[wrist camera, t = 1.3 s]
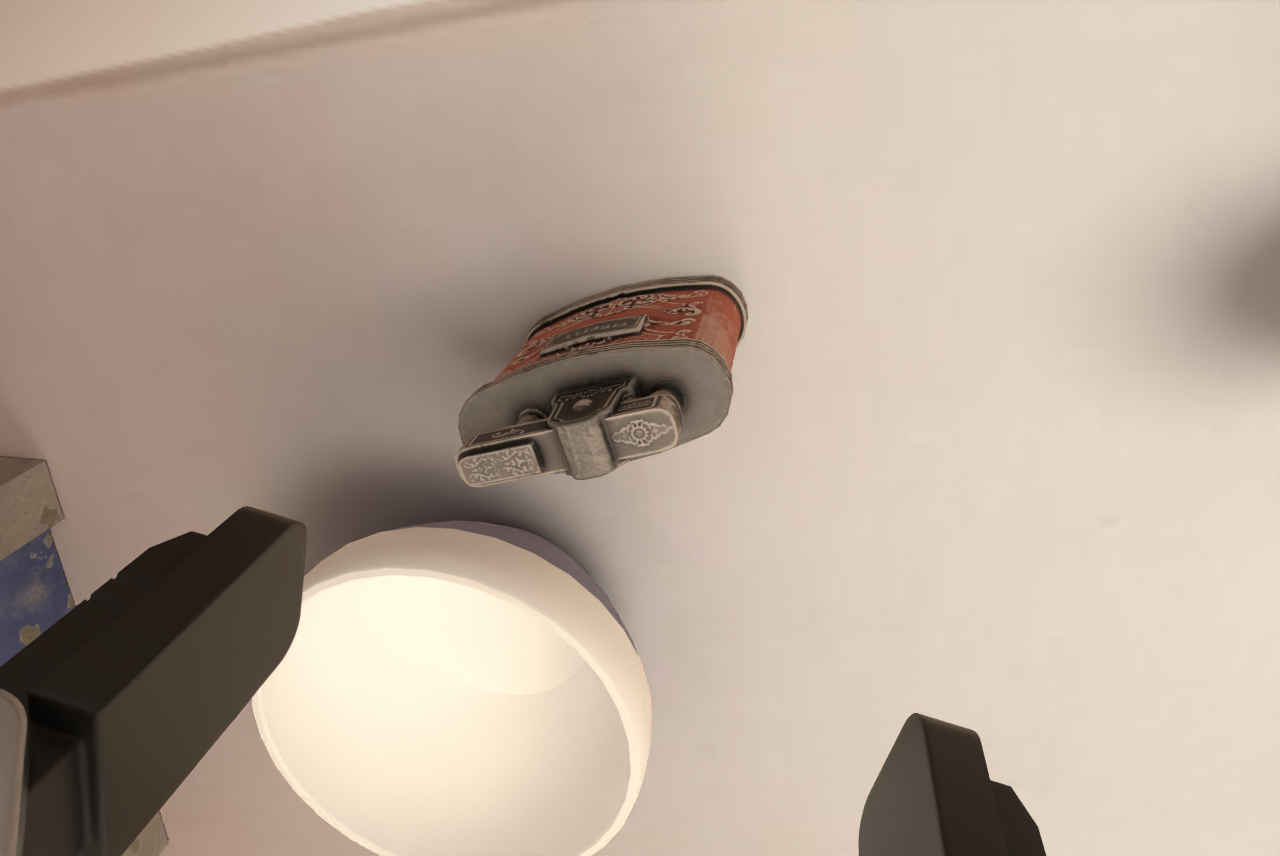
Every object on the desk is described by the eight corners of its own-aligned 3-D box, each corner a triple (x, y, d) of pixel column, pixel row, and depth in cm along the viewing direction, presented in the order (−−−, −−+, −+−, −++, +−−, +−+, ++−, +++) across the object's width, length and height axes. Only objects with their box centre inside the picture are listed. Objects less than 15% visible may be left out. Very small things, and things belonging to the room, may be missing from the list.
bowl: (403, 394, 34) (303, 486, 27) (737, 562, 35) (720, 694, 28) (307, 650, 41) (206, 777, 34) (590, 788, 41) (547, 940, 34)
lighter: (734, 257, 30) (702, 357, 21) (758, 350, 31) (738, 483, 22) (517, 312, 32) (404, 424, 23) (547, 397, 33) (451, 535, 24)
